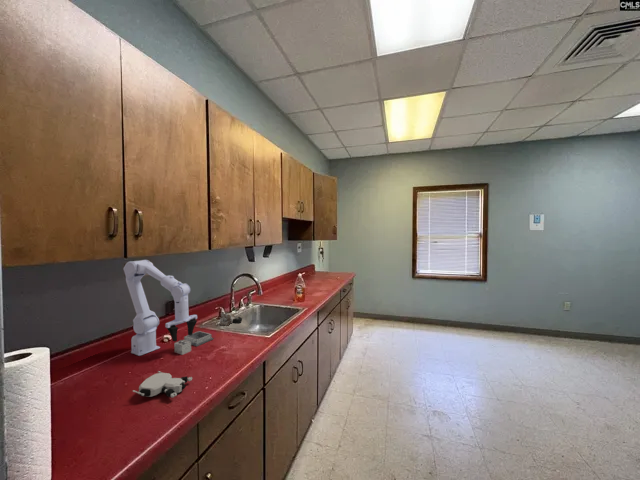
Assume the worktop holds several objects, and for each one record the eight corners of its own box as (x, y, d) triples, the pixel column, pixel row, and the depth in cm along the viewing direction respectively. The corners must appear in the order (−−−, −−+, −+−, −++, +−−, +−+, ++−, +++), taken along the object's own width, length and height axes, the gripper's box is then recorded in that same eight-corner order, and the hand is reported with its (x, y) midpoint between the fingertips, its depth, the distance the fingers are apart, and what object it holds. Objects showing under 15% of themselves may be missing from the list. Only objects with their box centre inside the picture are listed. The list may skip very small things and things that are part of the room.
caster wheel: (242, 325, 162) (234, 328, 152) (227, 320, 164) (218, 323, 155) (245, 315, 163) (237, 317, 153) (229, 310, 165) (221, 313, 155)
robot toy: (194, 384, 95) (156, 380, 96) (195, 372, 95) (157, 369, 96) (173, 406, 83) (130, 401, 84) (174, 392, 83) (130, 388, 84)
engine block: (182, 355, 117) (181, 344, 117) (174, 352, 120) (174, 342, 120) (191, 351, 121) (190, 340, 121) (183, 348, 124) (183, 338, 124)
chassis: (196, 346, 126) (196, 341, 126) (182, 342, 132) (182, 336, 132) (213, 339, 134) (213, 334, 134) (199, 335, 140) (199, 330, 140)
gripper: (171, 315, 112) (172, 345, 112) (200, 306, 125) (201, 334, 125) (162, 313, 115) (163, 342, 116) (191, 305, 128) (192, 331, 128)
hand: (182, 338), depth 120 cm, fingers open, 7 cm apart
